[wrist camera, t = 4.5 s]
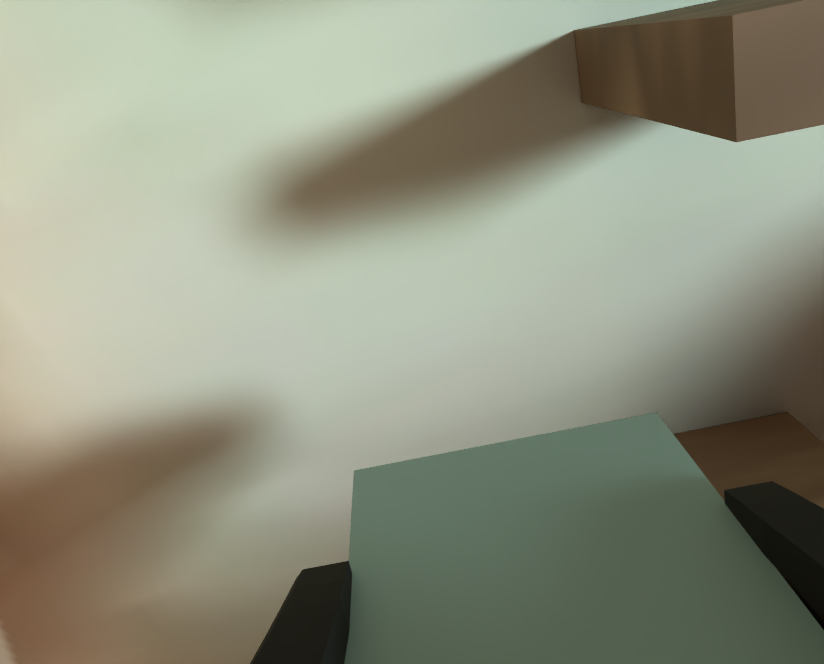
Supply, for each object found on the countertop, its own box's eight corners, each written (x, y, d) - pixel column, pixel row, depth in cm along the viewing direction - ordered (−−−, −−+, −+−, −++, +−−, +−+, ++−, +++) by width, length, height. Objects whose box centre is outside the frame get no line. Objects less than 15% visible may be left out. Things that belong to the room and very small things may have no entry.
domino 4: (573, 30, 17) (732, 15, 9) (782, -14, 17) (1112, -64, 9) (581, 102, 17) (735, 142, 10) (784, 60, 17) (1094, 69, 10)
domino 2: (617, 444, 21) (754, 667, 13) (787, 412, 21) (1021, 617, 13) (622, 492, 21) (756, 730, 14) (787, 460, 21) (1011, 683, 14)
